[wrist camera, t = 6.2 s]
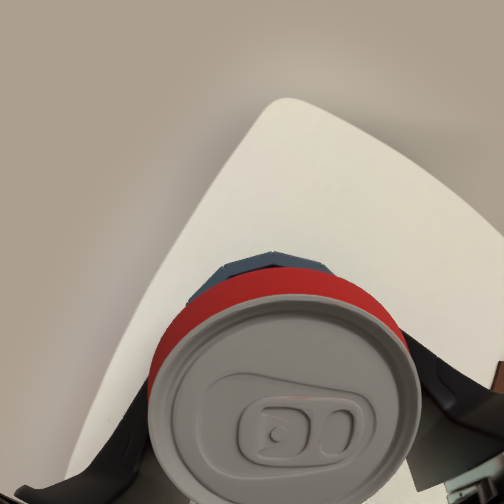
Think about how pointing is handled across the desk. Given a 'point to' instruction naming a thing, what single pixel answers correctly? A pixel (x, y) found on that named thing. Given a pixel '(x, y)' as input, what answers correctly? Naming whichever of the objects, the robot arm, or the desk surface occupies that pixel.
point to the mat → (499, 379)
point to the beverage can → (282, 392)
